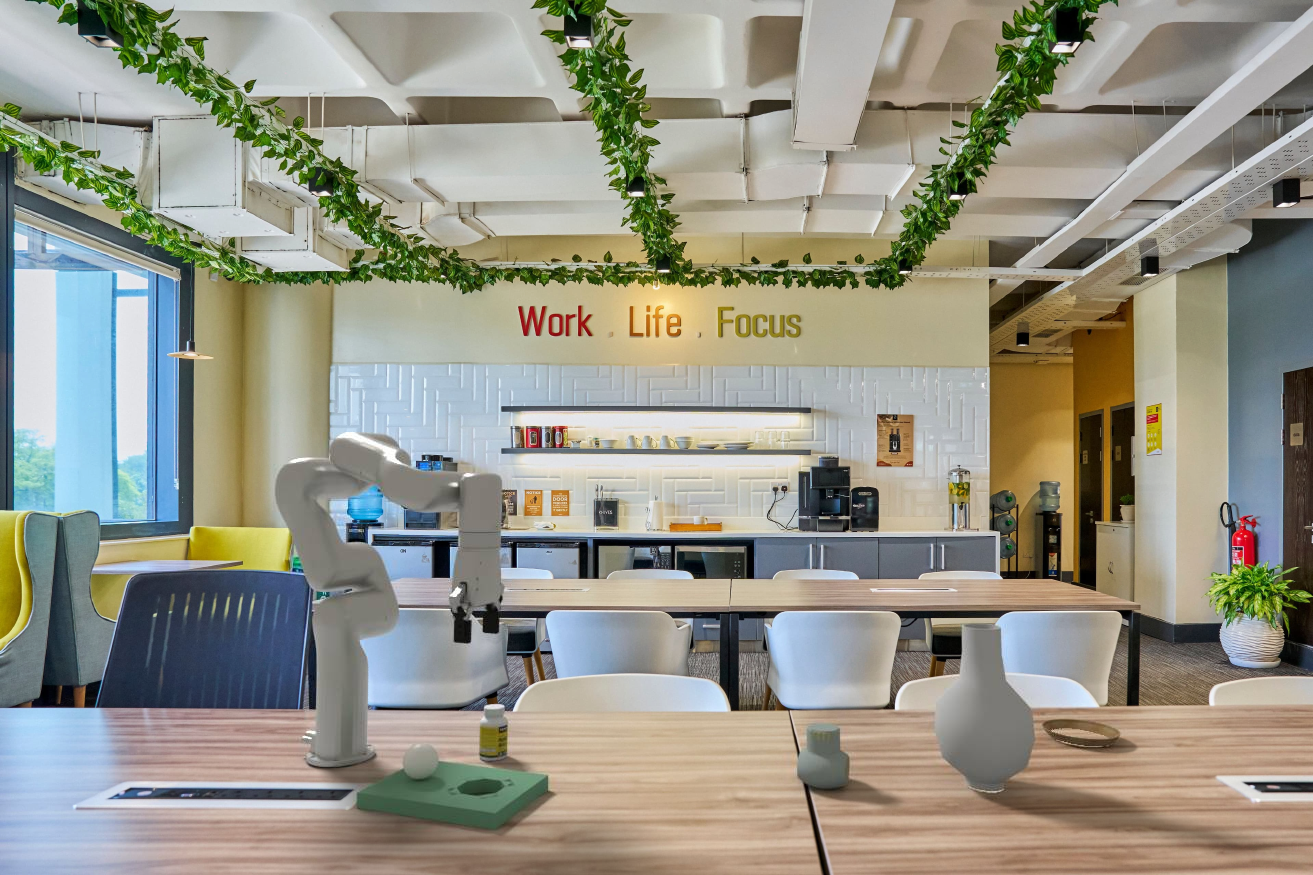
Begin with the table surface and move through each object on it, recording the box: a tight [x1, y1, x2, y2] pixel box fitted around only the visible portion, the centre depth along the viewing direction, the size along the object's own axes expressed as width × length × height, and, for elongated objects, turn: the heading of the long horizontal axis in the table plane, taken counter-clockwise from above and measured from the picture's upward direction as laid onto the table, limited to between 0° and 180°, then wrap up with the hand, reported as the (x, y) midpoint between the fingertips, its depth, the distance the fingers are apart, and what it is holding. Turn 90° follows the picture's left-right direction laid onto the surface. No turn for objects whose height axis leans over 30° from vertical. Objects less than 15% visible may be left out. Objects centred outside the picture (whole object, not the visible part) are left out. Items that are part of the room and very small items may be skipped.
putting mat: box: [356, 760, 549, 831], centre depth 141 cm, size 26×18×2 cm
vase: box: [934, 622, 1036, 791], centre depth 148 cm, size 17×16×28 cm
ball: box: [402, 741, 440, 780], centre depth 144 cm, size 6×6×6 cm
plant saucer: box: [1041, 718, 1122, 747], centre depth 174 cm, size 15×15×3 cm
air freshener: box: [796, 722, 851, 790], centre depth 149 cm, size 11×8×10 cm
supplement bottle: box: [478, 703, 509, 762], centre depth 163 cm, size 5×5×10 cm
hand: (476, 637), depth 149 cm, fingers open, 9 cm apart
